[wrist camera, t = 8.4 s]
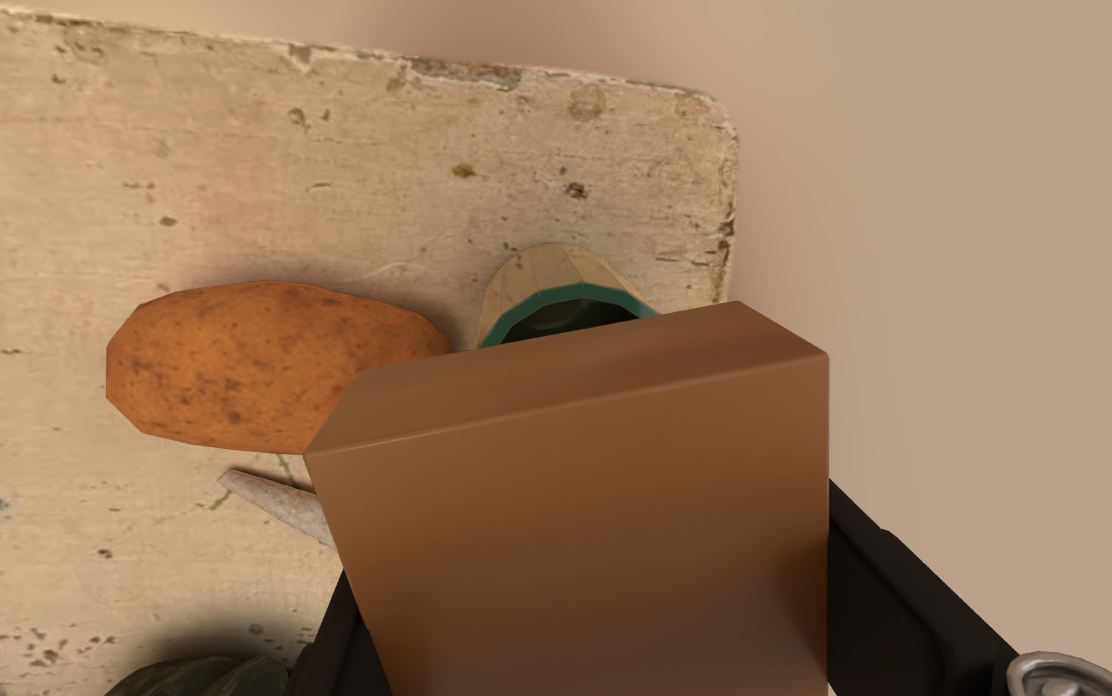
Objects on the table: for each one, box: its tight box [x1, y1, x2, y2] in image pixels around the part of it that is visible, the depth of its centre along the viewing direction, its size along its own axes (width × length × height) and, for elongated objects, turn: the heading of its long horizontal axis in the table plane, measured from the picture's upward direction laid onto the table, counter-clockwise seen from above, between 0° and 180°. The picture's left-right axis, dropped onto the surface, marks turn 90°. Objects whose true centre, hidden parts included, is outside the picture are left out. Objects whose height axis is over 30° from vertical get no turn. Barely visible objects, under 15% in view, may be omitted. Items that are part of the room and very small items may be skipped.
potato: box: [106, 280, 451, 455], centre depth 23 cm, size 7×13×7 cm, turn 78°
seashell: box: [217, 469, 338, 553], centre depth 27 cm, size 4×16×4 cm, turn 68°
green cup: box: [475, 243, 661, 349], centre depth 22 cm, size 7×7×9 cm
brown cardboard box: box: [303, 301, 829, 696], centre depth 10 cm, size 9×7×3 cm
